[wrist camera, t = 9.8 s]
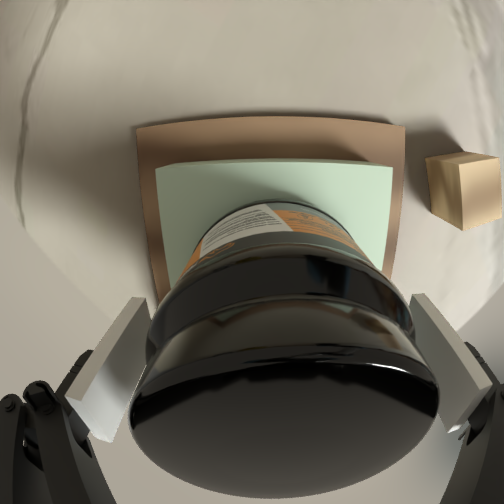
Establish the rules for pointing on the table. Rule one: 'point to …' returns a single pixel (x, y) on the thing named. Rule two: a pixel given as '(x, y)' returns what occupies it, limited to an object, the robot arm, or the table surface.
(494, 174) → the block
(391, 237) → the board
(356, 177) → the pedestal slab
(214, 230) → the supplement container
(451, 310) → the table surface
